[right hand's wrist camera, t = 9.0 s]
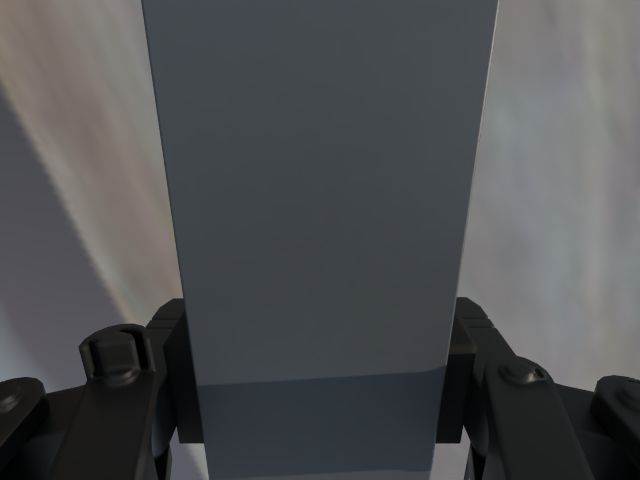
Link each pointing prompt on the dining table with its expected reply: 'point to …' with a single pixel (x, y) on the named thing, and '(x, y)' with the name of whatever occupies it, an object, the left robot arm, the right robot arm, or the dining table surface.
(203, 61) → the beam
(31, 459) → the right robot arm
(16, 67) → the dining table surface
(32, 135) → the dining table surface
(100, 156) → the dining table surface
